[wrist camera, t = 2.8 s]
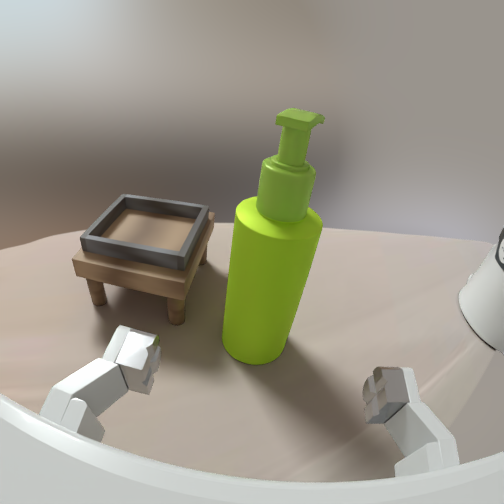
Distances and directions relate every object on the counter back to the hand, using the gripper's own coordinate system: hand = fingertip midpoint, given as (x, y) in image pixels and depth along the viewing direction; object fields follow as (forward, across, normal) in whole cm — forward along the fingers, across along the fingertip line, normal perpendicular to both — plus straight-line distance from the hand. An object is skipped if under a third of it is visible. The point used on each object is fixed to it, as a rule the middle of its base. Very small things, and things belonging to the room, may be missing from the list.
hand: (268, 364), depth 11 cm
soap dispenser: (+12, 0, -14) cm, 18 cm away
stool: (+17, -12, -13) cm, 25 cm away
